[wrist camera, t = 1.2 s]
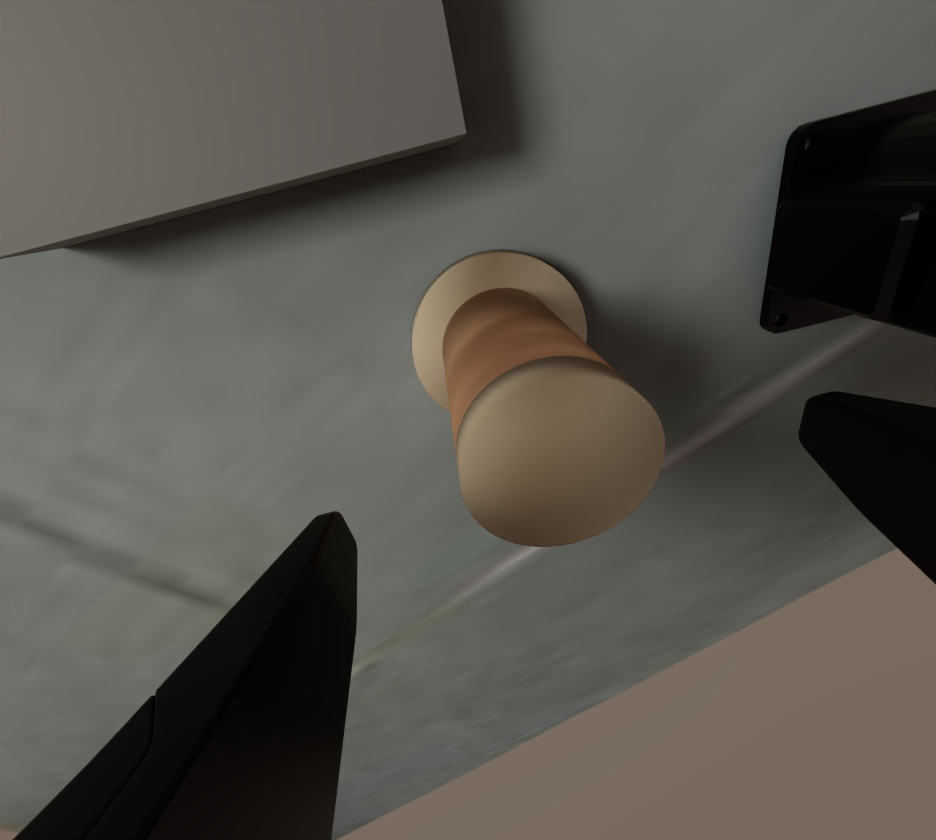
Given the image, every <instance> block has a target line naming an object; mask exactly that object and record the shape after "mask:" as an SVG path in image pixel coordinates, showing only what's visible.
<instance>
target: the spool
mask: <svg viewBox="0 0 936 840" xmlns="http://www.w3.org/2000/svg"><path fill="white" fill-rule="evenodd" d="M586 341H587V324H586V317H585V313H584V309H583V306H582V303H581V301H580V299H579V297H578V295H577V293H576V291H575V290H574V288H573V287H572V285H571V284H570V283H569V282H568V281H567V280H566V278H565V277H564V276H563V275H561V274H560V273H559V272H558V271H557V270H555V269H554V268H552V267H551V266H549V265H547V264H546V263H544V262H543V261H541V260H539V259H538V258H536V257H533V256H531V255H528V254H526V253H522V252H518V251H513V250H504V249H502V250H488V251H483V252H478V253H475V254H472V255H469V256H467V257H465V258H463V259H460V260H458V261H456V262H455V263H454V264H452V265H451V266H449V267H448V268H446V269H445V270H444V271H443V272H442V273H441V274H439V275H438V276H437V277H436V279H435V280H434V281H433V282H432V283H431V284H430V286H429V287H428V289H427V290H426V292H425V293H424V295H423V297H422V299H421V301H420V303H419V305H418V308H417V312H416V315H415V319H414V325H413V339H412V351H413V360H414V364H415V368H416V371H417V374H418V376H419V379H420V381H421V382H422V384H423V386H424V388H425V389H426V391H427V392H428V393H429V395H430V396H431V397H432V398H433V399H434V400H435V401H436V402H437V403H438V404H439V405H440V406H442V407H443V408H444V409H446V410H447V411H449V412H450V413H451V421H452V428H453V435H454V443H455V450H456V457H457V465H458V472H459V480H460V487H461V492H462V496H463V499H464V502H465V504H466V507H467V508H468V510H469V512H470V513H471V515H472V516H473V517H474V519H475V520H476V521H477V522H478V523H479V524H480V525H481V526H482V527H484V528H485V529H486V530H487V531H489V532H490V533H492V534H493V535H495V536H497V537H499V538H501V539H504V540H506V541H509V542H512V543H515V544H520V545H525V546H535V547H552V546H561V545H566V544H572V543H575V542H579V541H582V540H586V539H588V538H591V537H593V536H596V535H598V534H600V533H602V532H604V531H606V530H608V529H610V528H611V527H613V526H615V525H616V524H618V523H619V522H620V521H622V520H623V519H624V518H626V517H627V516H628V515H629V514H631V513H632V512H633V511H634V510H635V509H636V508H637V507H638V506H639V505H640V504H641V503H642V502H643V500H644V499H645V498H646V497H647V495H648V494H649V492H650V491H651V490H652V488H653V486H654V484H655V483H656V481H657V479H658V476H659V474H660V471H661V469H662V465H663V461H664V456H665V435H664V431H663V426H662V424H661V421H660V419H659V417H658V415H657V413H656V412H655V410H654V409H653V407H652V406H651V405H650V404H649V403H648V402H647V401H646V399H645V398H644V397H643V396H641V395H640V394H639V393H638V392H637V391H636V390H635V389H634V388H633V387H632V386H631V385H630V384H629V383H628V382H627V381H626V380H625V379H623V378H622V377H621V376H620V375H619V374H618V373H617V372H616V371H615V370H614V369H613V368H612V367H611V366H610V365H609V364H608V363H606V362H605V361H604V360H603V359H602V358H601V357H600V356H599V355H598V354H597V353H596V352H595V351H594V350H593V349H592V348H591V347H590V346H588V345H587V344H586Z"/></svg>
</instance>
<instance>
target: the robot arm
mask: <svg viewBox="0 0 936 840" xmlns="http://www.w3.org/2000/svg"><path fill="white" fill-rule="evenodd" d="M809 135H810V144H809V146H808V147H807V149H806V150H805V148H804V144H805V141H806V139H807V137H808V136H809ZM853 314H854V315H858V316H861V317H865V318H868V319H871V320H877V321H880V322H884V323H887V324H890V325H894V326H897V327H901V328H904V329H907V330H911V331H914V332H918V333H921V334H924V335H928V336H931V337H935V338H936V90H932V91H928V92H924V93H920V94H916V95H912V96H909V97H905V98H901V99H897V100H893V101H889V102H886V103H882V104H878V105H874V106H870V107H866V108H863V109H859V110H855V111H851V112H847V113H843V114H840V115H836V116H832V117H828V118H824V119H820V120H817V121H813V122H809V123H805V124H803V125H801V126H799V127H798V128H797V129H796V130H795V131H794V132H793V133H792V134H791V136H790V137H789V139H788V142H787V145H786V149H785V156H784V163H783V169H782V176H781V183H780V189H779V196H778V203H777V209H776V216H775V223H774V229H773V236H772V243H771V249H770V256H769V262H768V269H767V276H766V282H765V289H764V296H763V302H762V309H761V316H760V326H761V327H762V328H763V329H765V330H767V331H770V332H772V333H781V332H785V331H789V330H793V329H797V328H801V327H805V326H809V325H813V324H817V323H821V322H825V321H829V320H833V319H837V318H841V317H845V316H849V315H853ZM778 315H780V316H779V319H778V320H777V321H776V322H774V321H775V319H776V317H777V316H778ZM799 440H800V442H801V444H802V446H803V447H804V448H805V450H806V451H807V452H808V453H809V454H810V455H811V456H812V458H813V459H814V460H815V461H816V462H817V463H818V465H819V466H820V467H821V468H822V469H823V470H824V471H825V473H826V474H827V475H828V476H829V477H830V478H831V479H832V481H833V482H834V483H835V484H836V485H837V486H838V488H839V489H840V490H841V491H842V492H843V493H844V494H845V496H846V497H847V498H848V499H849V500H850V501H851V502H852V503H853V505H854V506H855V507H856V508H857V509H858V510H859V511H860V512H861V513H862V514H863V515H864V516H865V517H866V518H867V519H868V520H869V521H870V522H871V523H872V524H873V525H874V526H875V527H876V528H877V529H878V530H879V531H880V532H881V533H882V534H883V535H885V536H886V537H887V538H888V539H889V540H890V541H891V542H892V543H893V544H894V545H895V546H896V547H897V548H898V549H899V550H900V551H901V552H902V553H903V554H905V556H907V557H908V558H909V559H910V560H911V561H912V562H913V563H914V564H915V565H916V566H917V567H918V568H919V569H920V570H921V571H922V572H923V573H924V574H925V575H926V576H928V577H929V578H930V579H931V580H932V581H933V582H934V583H935V584H936V408H934V407H928V406H922V405H916V404H910V403H904V402H898V401H892V400H886V399H880V398H874V397H868V396H862V395H856V394H850V393H844V392H838V391H834V392H828V393H823V394H819V395H815V396H812V397H811V398H809V399H808V400H807V402H806V404H805V407H804V411H803V416H802V420H801V424H800V428H799ZM356 623H357V545H356V542H355V539H354V537H353V535H352V533H351V531H350V529H349V528H348V526H347V524H346V522H345V520H344V518H343V516H342V515H341V514H340V513H339V512H336V511H334V512H330V513H326V514H321V515H318V516H316V517H315V518H314V519H313V520H312V521H311V522H310V524H309V525H308V526H307V527H306V528H305V529H304V530H303V531H302V532H301V533H300V534H299V535H298V537H297V538H296V539H295V540H294V541H293V542H292V543H291V544H290V545H289V546H288V547H287V549H286V550H285V551H284V552H283V553H282V554H281V555H280V556H279V557H278V558H277V559H276V561H275V562H274V563H273V564H272V565H271V566H270V567H269V568H268V569H267V570H266V571H265V573H264V574H263V575H262V576H261V577H260V578H259V579H258V580H257V581H256V582H255V583H254V585H253V586H252V587H251V588H250V589H249V590H248V591H247V592H246V593H245V594H244V595H243V597H242V598H241V599H240V600H239V601H238V602H237V603H236V604H235V605H234V606H233V607H232V608H231V610H230V611H229V612H228V613H227V614H226V615H225V616H224V617H223V618H222V619H221V620H220V622H219V623H218V624H217V625H216V626H215V627H214V628H213V629H212V630H211V631H210V632H209V634H208V635H207V636H206V637H205V638H204V639H203V640H202V641H201V642H200V643H199V644H198V645H197V647H196V648H195V649H194V650H193V651H192V652H191V653H190V654H189V655H188V656H187V657H186V659H185V660H184V661H183V662H182V663H181V664H180V665H179V666H178V667H177V668H176V669H175V671H174V672H173V673H172V674H171V675H170V676H169V677H168V678H167V679H166V680H165V681H164V682H163V684H162V685H161V686H160V687H159V688H158V689H157V690H156V694H155V695H154V696H151V697H150V698H149V699H148V700H147V701H146V702H145V703H144V704H143V705H142V706H141V707H140V709H139V710H138V711H137V712H136V713H135V714H134V715H133V716H132V717H131V718H130V719H129V720H128V722H127V723H126V724H125V725H124V726H123V727H122V728H121V729H120V730H119V731H118V732H117V733H116V734H115V735H114V736H113V738H112V739H111V740H110V741H109V742H108V743H107V744H106V745H105V746H104V747H103V748H102V749H101V750H100V751H99V752H98V753H97V755H96V756H95V757H94V758H93V759H92V760H91V761H90V762H89V763H88V764H87V765H86V766H85V767H84V768H83V769H82V770H81V771H80V772H79V773H78V774H77V775H76V776H75V777H74V778H73V779H72V780H71V781H70V782H69V783H68V784H67V785H66V786H65V788H64V789H63V790H62V791H61V792H60V793H59V794H58V795H57V796H56V797H55V798H54V799H53V800H52V801H51V802H50V803H49V804H48V805H47V806H46V807H45V808H44V809H43V810H42V811H41V812H40V813H39V814H38V815H37V816H36V817H35V818H34V819H33V820H32V821H31V822H30V823H29V824H28V825H27V826H26V827H25V828H24V829H23V830H22V831H21V832H20V833H19V834H18V835H17V836H16V837H15V838H14V839H13V840H331V837H332V829H333V821H334V812H335V804H336V796H337V787H338V779H339V771H340V762H341V754H342V746H343V737H344V729H345V721H346V712H347V704H348V696H349V687H350V679H351V671H352V662H353V654H354V646H355V636H356Z"/></svg>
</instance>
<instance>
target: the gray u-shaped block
mask: <svg viewBox="0 0 936 840" xmlns="http://www.w3.org/2000/svg"><path fill="white" fill-rule="evenodd" d="M465 135H466V128H465V122H464V117H463V112H462V106H461V101H460V96H459V90H458V85H457V79H456V74H455V69H454V63H453V58H452V52H451V47H450V42H449V36H448V31H447V26H446V20H445V15H444V9H443V4H442V0H0V259H2V258H7V257H13V256H19V255H25V254H31V253H36V252H42V251H48V250H54V249H60V248H64V247H68V246H71V245H75V244H79V243H83V242H87V241H90V240H94V239H98V238H102V237H105V236H109V235H113V234H117V233H121V232H124V231H128V230H132V229H136V228H139V227H143V226H147V225H151V224H154V223H158V222H162V221H166V220H170V219H173V218H177V217H181V216H185V215H188V214H192V213H196V212H200V211H204V210H207V209H211V208H215V207H219V206H222V205H226V204H230V203H234V202H238V201H241V200H245V199H249V198H253V197H256V196H260V195H264V194H268V193H272V192H275V191H279V190H283V189H287V188H290V187H294V186H298V185H302V184H306V183H309V182H313V181H317V180H321V179H324V178H328V177H332V176H336V175H339V174H343V173H347V172H351V171H355V170H358V169H362V168H366V167H370V166H373V165H377V164H381V163H385V162H389V161H392V160H396V159H400V158H404V157H407V156H411V155H415V154H419V153H423V152H426V151H430V150H434V149H438V148H441V147H445V146H449V145H453V144H457V143H458V142H459V141H460V140H461V139H462V138H463V137H464V136H465Z"/></svg>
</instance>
